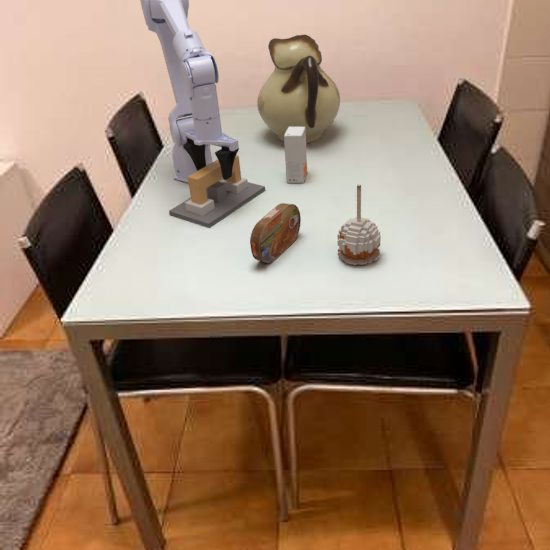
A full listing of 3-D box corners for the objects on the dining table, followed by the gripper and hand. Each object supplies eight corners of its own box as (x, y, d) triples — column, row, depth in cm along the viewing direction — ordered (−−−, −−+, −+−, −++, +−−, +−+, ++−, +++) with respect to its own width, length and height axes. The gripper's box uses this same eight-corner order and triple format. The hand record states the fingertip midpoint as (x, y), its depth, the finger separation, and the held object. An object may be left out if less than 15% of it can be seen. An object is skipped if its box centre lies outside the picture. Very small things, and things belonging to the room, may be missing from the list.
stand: (169, 214, 134) (166, 196, 131) (226, 180, 147) (224, 163, 144) (209, 227, 128) (206, 209, 125) (265, 190, 141) (263, 172, 138)
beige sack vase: (290, 116, 180) (284, 29, 166) (359, 129, 168) (359, 36, 154) (244, 143, 166) (234, 50, 152) (316, 159, 154) (312, 60, 139)
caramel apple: (348, 242, 119) (348, 173, 110) (385, 250, 115) (387, 179, 107) (331, 261, 114) (329, 190, 105) (369, 271, 110) (370, 198, 102)
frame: (191, 201, 132) (187, 176, 129) (231, 177, 141) (228, 153, 138) (201, 204, 130) (197, 179, 127) (241, 179, 139) (238, 155, 136)
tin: (263, 271, 113) (259, 232, 108) (249, 267, 114) (245, 229, 109) (303, 234, 123) (301, 197, 118) (289, 231, 124) (287, 194, 120)
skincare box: (304, 183, 142) (301, 135, 135) (286, 183, 143) (283, 135, 136) (308, 172, 147) (305, 126, 140) (290, 172, 148) (287, 126, 141)
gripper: (168, 116, 127) (178, 175, 135) (219, 127, 119) (228, 188, 127) (190, 106, 131) (199, 163, 139) (241, 115, 124) (248, 175, 132)
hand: (214, 174), depth 133 cm, fingers open, 7 cm apart
